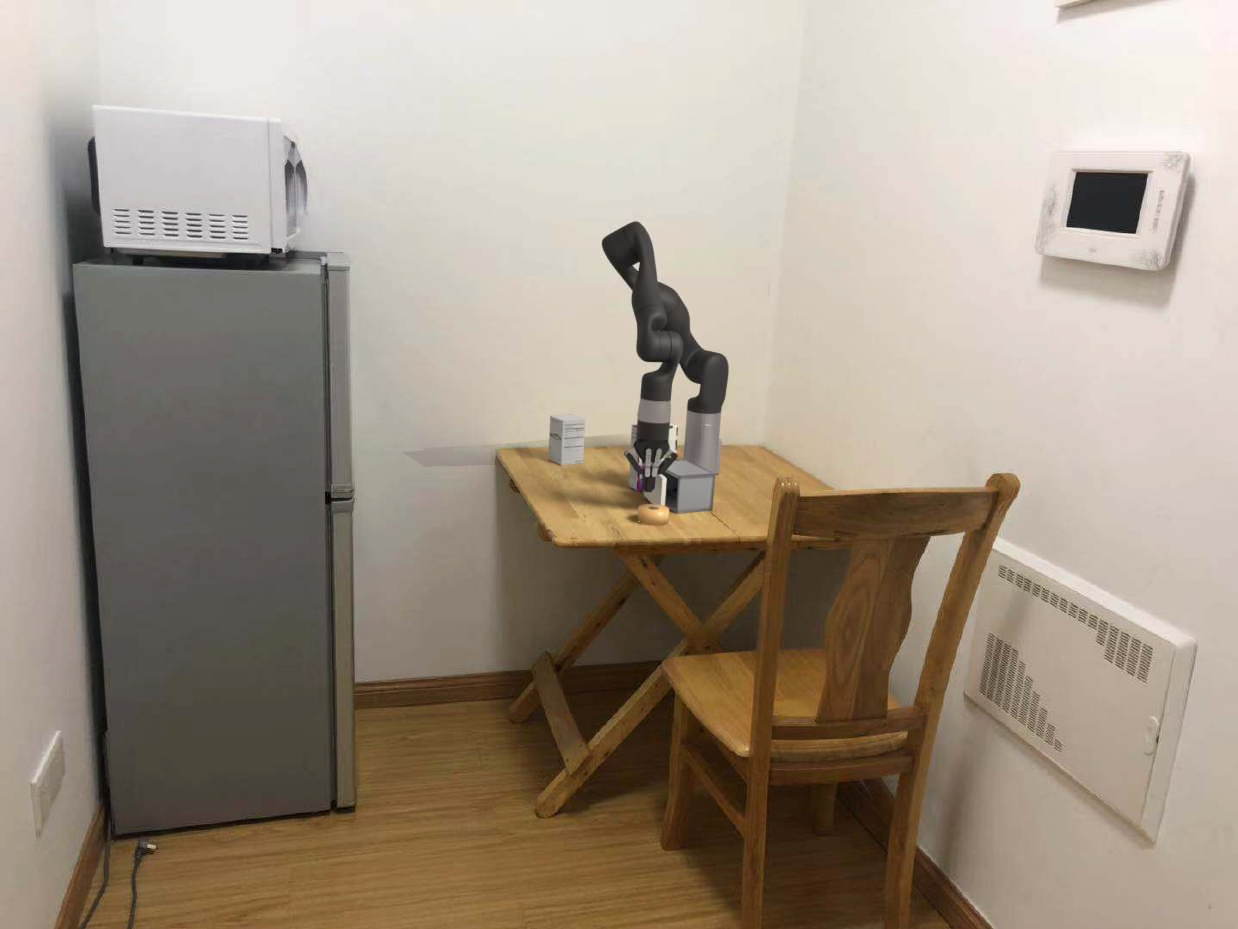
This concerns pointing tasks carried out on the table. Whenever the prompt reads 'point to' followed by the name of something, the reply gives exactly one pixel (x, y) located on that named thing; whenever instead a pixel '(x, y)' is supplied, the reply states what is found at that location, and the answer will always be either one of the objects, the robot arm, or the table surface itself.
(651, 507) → the tan donut
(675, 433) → the candy bar box
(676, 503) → the box
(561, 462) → the supplement box
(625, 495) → the table surface
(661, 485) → the cover
